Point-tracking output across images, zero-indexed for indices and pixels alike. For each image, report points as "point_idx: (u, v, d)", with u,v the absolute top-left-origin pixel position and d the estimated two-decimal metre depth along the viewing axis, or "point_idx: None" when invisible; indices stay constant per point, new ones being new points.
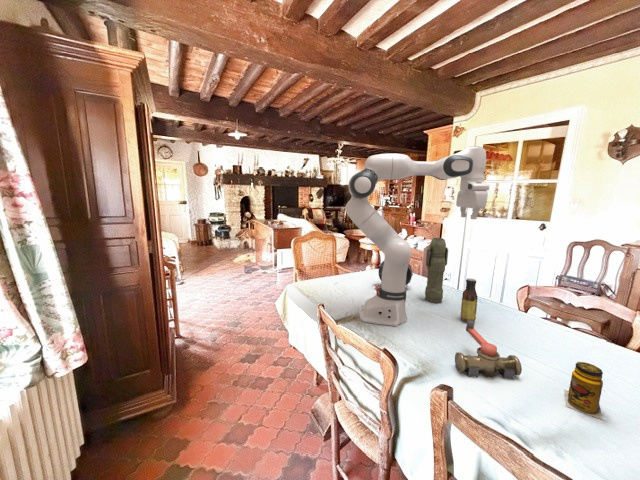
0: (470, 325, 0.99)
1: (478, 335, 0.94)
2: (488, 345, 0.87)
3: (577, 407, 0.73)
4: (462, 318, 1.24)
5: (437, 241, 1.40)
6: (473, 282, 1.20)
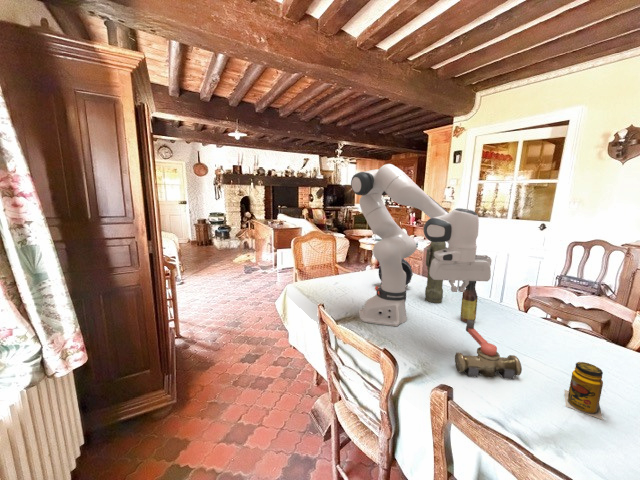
0: (470, 325, 0.99)
1: (478, 335, 0.94)
2: (488, 345, 0.87)
3: (577, 407, 0.73)
4: (462, 318, 1.24)
5: None
6: (473, 282, 1.20)
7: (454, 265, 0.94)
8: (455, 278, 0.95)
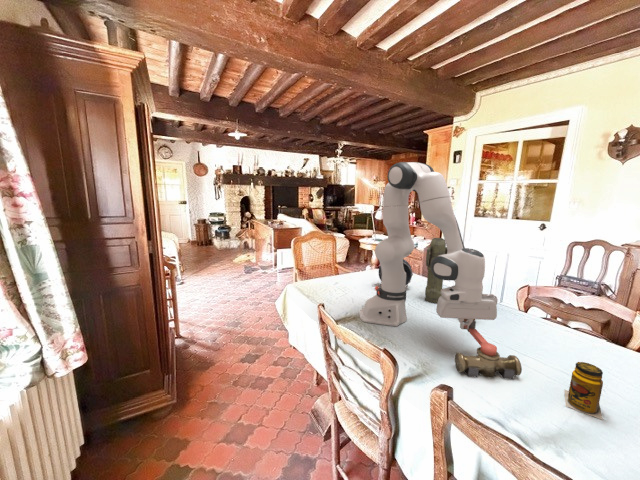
0: (471, 325, 0.99)
1: (479, 335, 0.94)
2: (488, 345, 0.87)
3: (577, 407, 0.73)
4: None
5: (437, 241, 1.40)
6: None
7: (461, 304, 0.96)
8: (462, 316, 0.97)
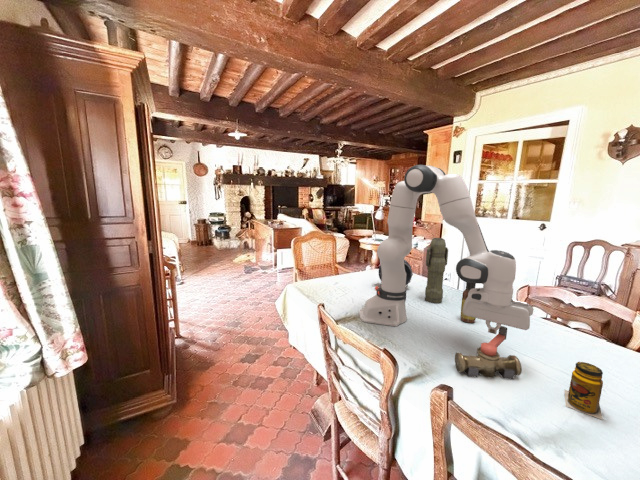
0: (500, 331, 0.95)
1: (497, 339, 0.92)
2: (489, 345, 0.87)
3: (577, 407, 0.73)
4: (462, 318, 1.24)
5: (437, 241, 1.40)
6: None
7: (486, 305, 0.95)
8: (487, 318, 0.96)
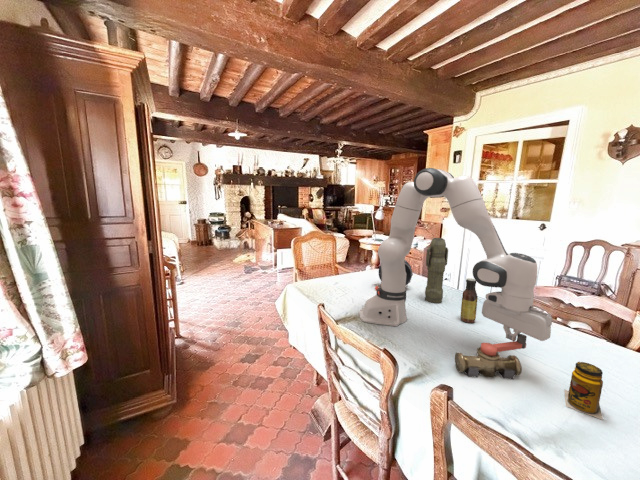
0: (517, 338, 0.90)
1: (507, 344, 0.89)
2: (489, 346, 0.87)
3: (577, 407, 0.73)
4: (462, 318, 1.24)
5: (437, 241, 1.40)
6: (473, 282, 1.20)
7: (503, 309, 0.92)
8: (503, 323, 0.93)
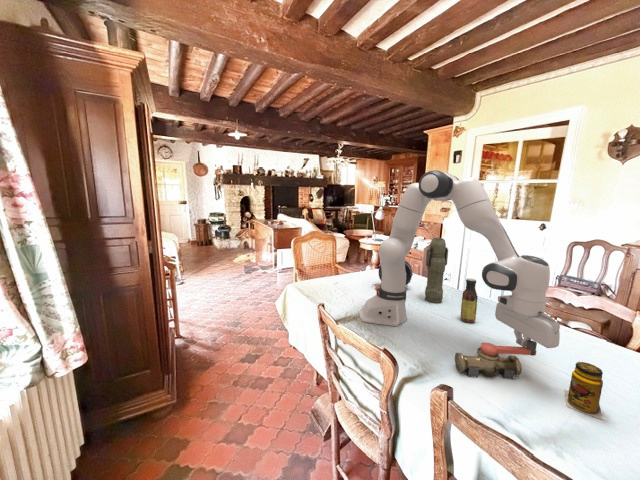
0: None
1: (512, 348, 0.86)
2: (489, 346, 0.87)
3: (577, 407, 0.73)
4: (462, 318, 1.24)
5: (437, 241, 1.40)
6: (473, 282, 1.20)
7: (513, 312, 0.90)
8: (513, 327, 0.90)
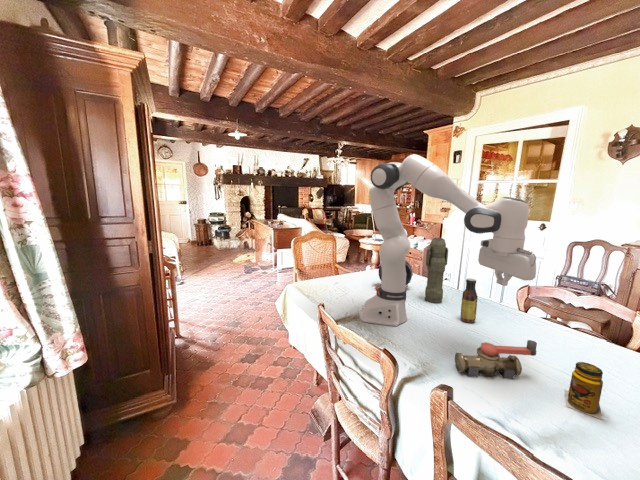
0: (527, 344, 0.86)
1: (512, 348, 0.86)
2: (489, 346, 0.87)
3: (577, 407, 0.73)
4: (462, 318, 1.24)
5: (437, 241, 1.40)
6: (473, 282, 1.20)
7: (494, 254, 0.94)
8: (494, 267, 0.94)
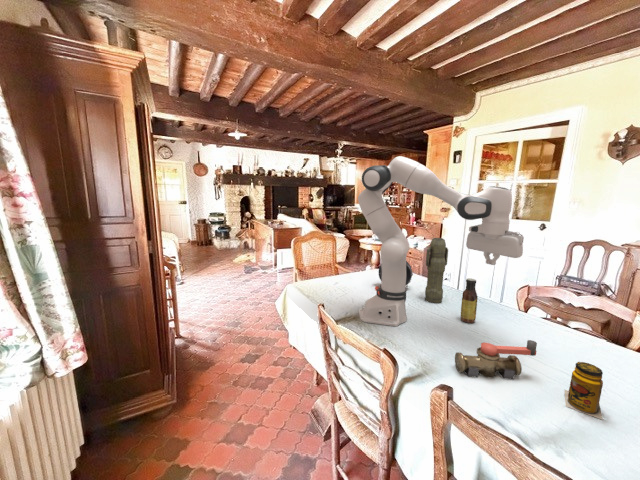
0: (527, 344, 0.86)
1: (512, 348, 0.86)
2: (489, 346, 0.87)
3: (577, 407, 0.73)
4: (462, 318, 1.24)
5: (437, 241, 1.40)
6: (473, 282, 1.20)
7: (483, 237, 1.05)
8: (484, 249, 1.05)
